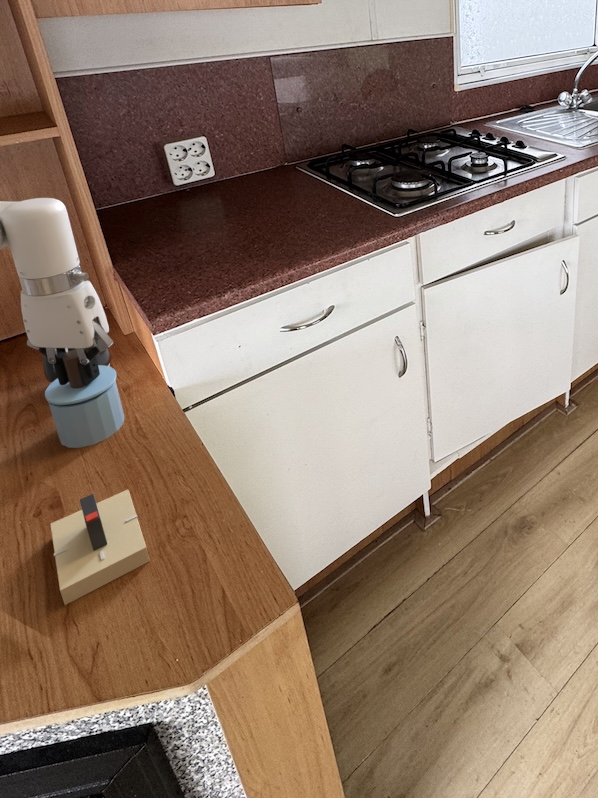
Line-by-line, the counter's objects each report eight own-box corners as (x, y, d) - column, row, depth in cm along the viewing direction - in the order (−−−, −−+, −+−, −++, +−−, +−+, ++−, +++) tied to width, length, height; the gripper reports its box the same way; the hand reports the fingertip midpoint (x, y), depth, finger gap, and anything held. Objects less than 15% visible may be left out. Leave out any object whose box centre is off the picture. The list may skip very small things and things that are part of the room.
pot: (47, 441, 95) (34, 398, 92) (100, 407, 103) (90, 367, 100) (85, 456, 92) (73, 413, 89) (137, 420, 100) (127, 380, 97)
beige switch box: (54, 540, 78) (49, 523, 77) (133, 504, 84) (128, 487, 82) (64, 608, 69) (58, 590, 68) (151, 563, 75) (147, 545, 74)
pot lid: (32, 398, 92) (21, 363, 90) (91, 365, 100) (82, 332, 98) (73, 414, 89) (62, 378, 86) (130, 378, 97) (122, 344, 95)
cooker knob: (87, 525, 77) (79, 497, 75) (100, 519, 78) (92, 491, 76) (93, 551, 73) (85, 523, 72) (107, 544, 74) (99, 516, 72)
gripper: (121, 269, 91) (144, 367, 97) (19, 266, 91) (48, 365, 98) (88, 292, 84) (115, 396, 90) (-22, 289, 84) (12, 393, 91)
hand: (80, 379), depth 94 cm, fingers closed on pot lid, 3 cm apart
